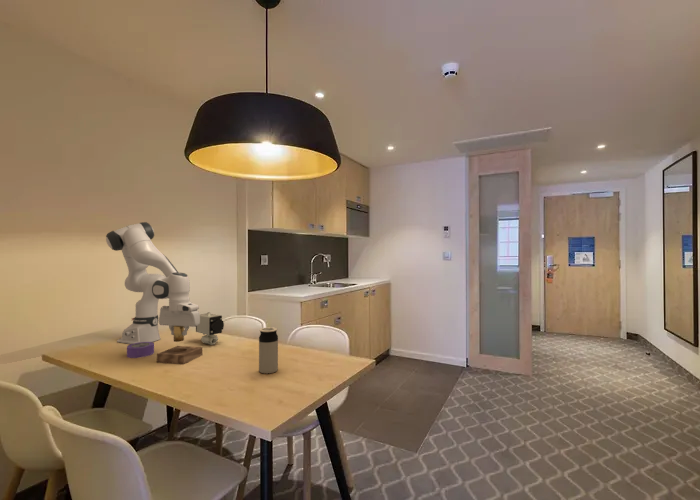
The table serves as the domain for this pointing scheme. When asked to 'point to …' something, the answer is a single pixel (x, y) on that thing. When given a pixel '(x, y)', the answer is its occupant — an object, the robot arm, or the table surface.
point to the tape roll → (140, 349)
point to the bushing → (178, 333)
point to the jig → (179, 354)
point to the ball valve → (210, 327)
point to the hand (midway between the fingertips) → (179, 335)
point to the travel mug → (268, 350)
